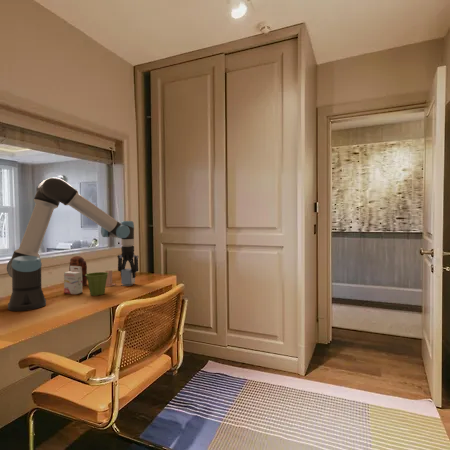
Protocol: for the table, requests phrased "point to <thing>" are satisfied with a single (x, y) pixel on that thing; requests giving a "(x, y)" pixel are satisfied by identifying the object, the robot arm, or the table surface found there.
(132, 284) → the post
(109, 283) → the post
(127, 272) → the grey upright block
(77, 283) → the ink cartridge box
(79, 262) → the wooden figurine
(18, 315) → the table surface
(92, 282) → the plant pot
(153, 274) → the table surface
